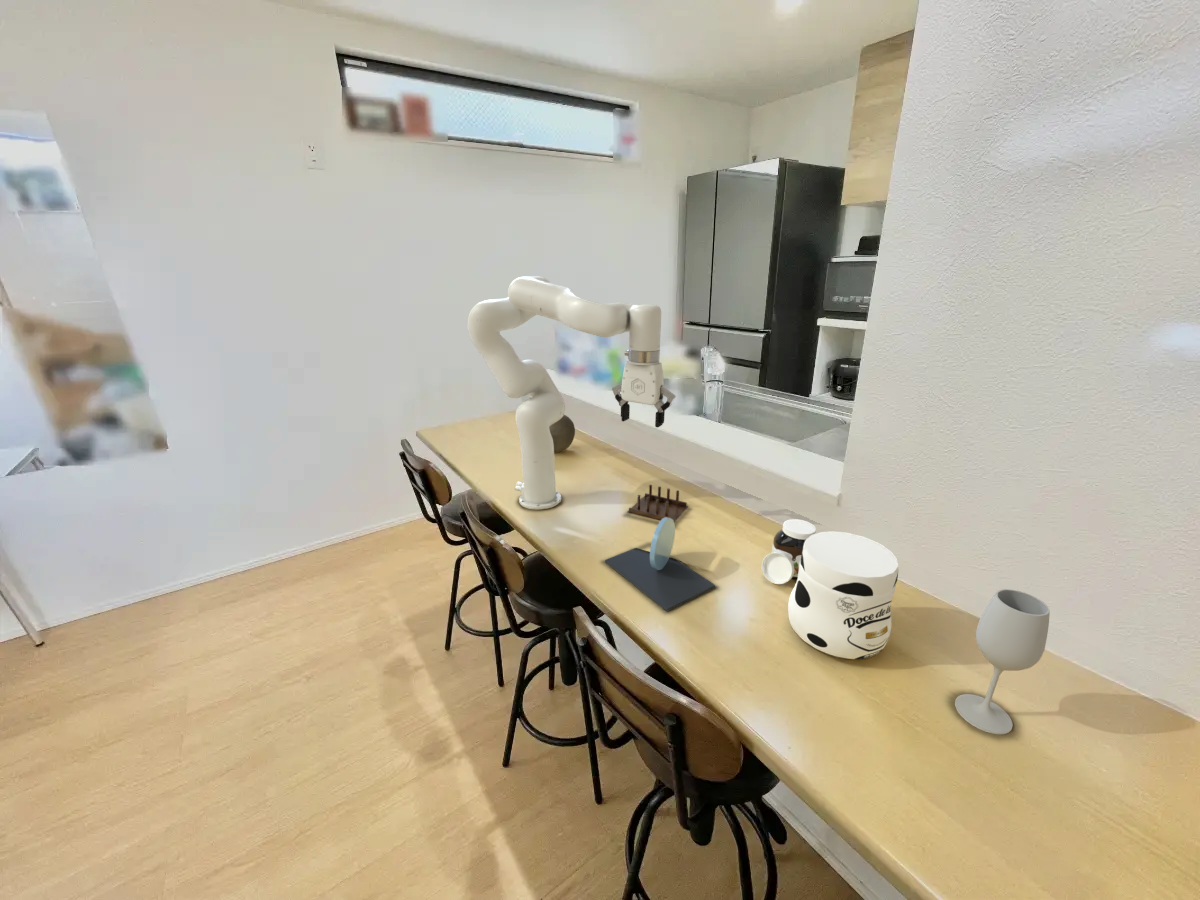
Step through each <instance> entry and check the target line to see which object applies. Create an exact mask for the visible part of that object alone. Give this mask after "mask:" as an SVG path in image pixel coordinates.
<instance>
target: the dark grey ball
mask: <svg viewBox="0 0 1200 900" xmlns="http://www.w3.org/2000/svg"><path fill="white" fill-rule="evenodd" d="M549 430H550V433H551V436H552V439H553V444H554V453H560V452H562V451H565V450H566V449H568V448H569V447H570V446H571V445H572V443H573V442H574V439H575V435H576V427H575V424H574V422H573V420H572V419H571V418H570V417H569V416H568V415H566V414H564V415H563V417H562V418H561V419H560V420H558V421H557V422H555V423H554V424H552V425H551V426H549Z"/></svg>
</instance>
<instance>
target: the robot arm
mask: <svg viewBox="0 0 1200 900" xmlns="http://www.w3.org/2000/svg"><path fill="white" fill-rule="evenodd" d="M535 316H540V317H544V318H547V319H551V320H554V321H558V322H560V323H562V324H563V325H565V326H567V327H569V328H572V329H573V330H576V331H578V332H582V333H586V334H589V335H592V336H596V337H600V338H611V337H615V336H617V335H620V334H625V333H629V337H628V349H625V351H624V352H623V353H624V354H623V355H624V356H627V359H628V360H626V361H625V362H624V367H623V373H622V378H621V383H619V384H618V385H616V386H612V388H611V390H612V393H613V395H614V399H615V400H616V401H617V403H618V405H619V407H620V418H621V422H626V421H628V420H630V412H631V411H630V409H631V408H630V407H631V406H630V403H636V404H642V405H648V406H649V405H650V406H654V408H655V409H656V410H657V411H656V412H655V421H654V427H655V428H660V427H662V426H663V424H664V423H665V415H666V414H665V413H666V412H665V411H666V410H667V409H669V408H670V407H671V406H672V404H673V403H674V401H675V399H676V397H677V396H676V395H675V394H674V393H673V392H671V391H670V390H668V389H667V388H666V387H665V385H664V383H665V382H664V370H663V364H662V362H660V355H661V354H660V352H661V349H660V348H661V331H662V330H661V329H662V328H661V327H662V309H661V307H660V306H659V305H657V304H651V303H642V304H633V303H629V302H623V301H620V302H619V301H617V302H611V303H600V302H596V301H593V300H589V299H585V298H582V297H579V296H577V295H576V294H574V291H573V290H572V289H571V288H570V287H567V286H565V285H564V286H563V285H560V284H556V283H551V282H550V281H549V279H547V278H545V277H544V276H540V275H530V276H529V275H528V276H520V277H517V278H515V279H514V280H512V281H511V282H510V284H509V286H508V288H507V297H505V298H504V297H503V298H494V299H493V298H492V299H486V300H483V301H479V302H478V303H476V304H475V305H474V306H473V307H472V308H471V310H470V311H469V313H468V317H467V321H466V323H467V333H468V337H469V338H470V341H471V343H472V344H473V346H474V348H476V350H477V351H478V353H479V355H480V356H481V357H482V359H483V360H484V361H485V363H486V365H487V367H488V369H489V370H490V372H491V374H492V375H493V377H494V378H495V380H496V381H497V384H498V385H499V387H500V388H501V390H502V391H503V393H504V394H505V395H506V397H508V398H511V399H520V398H523V397H525V396H528V397H529V398H528V399H526V400H524V401H522V402H521V403H520V404H519V405H518V407H517V409H516V410H515V414H514V415H515V416H514V417H515V419H514V420H515V424H516V428H517V433H518V437H519V447H520V457H521V470H522V472H521V473H522V481H519V480H518V481H517V482H516V483H515V486H514V491H517V492H520V496H519V498H518V502H519V504H520V505H521V506H522V507H524V508H525V509H529V510H536V511H538V510H547V509H551V508H554V507H556V506H558V505H559V504H560V503H561V502H562V494H561V493H560V492H559V491H557V488H556V487H557V486H556V485H557V484H556V467H555V465H556V464H555V463H556V462H555V452H554V444H553V439H552V436H551V433H550V430H549V426H551V425H552V424H554V423H555V422H557V421H558V420H560V419H561V418H562V417H563V415H565V412H566V403H565V401H564V398H563V396H562V394H561V392H560V391H559V389H558V387H557V385H556V384H555V382H554V381H553V379H552V377H551V376H550V374H549V372H548V371H547V369H546V367H545V366H544V365H542V364H541V362H539V361H537V360H535V359H524V360H521V358H520V357H519V356H518V354H517V352H516V351H515V349H514V348H513V345H512V344H510V342H509V341H508V340H507V339H506V338H504V337H503V336H502V335H501V333H500V332H502V331H507V330H513V329H516V328H518V327H520V326H522V325H524V324H525V323H526V322H528V321H529V320H531V319H533V318H534V317H535ZM664 397H665V398H667V400H666V401H665V402H664V400H663V399H664Z"/></svg>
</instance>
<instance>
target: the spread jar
mask: <svg viewBox="0 0 1200 900" xmlns="http://www.w3.org/2000/svg"><path fill="white" fill-rule="evenodd" d="M782 523H783V524H782V529H780V530H778V531H777V532H776V534H775V535H774V537H773V540H772V546H771V552H770V553H768V554H766V555H765V556H764V557H763V559H762V561H761V571H762V574H763V576H764V577H765V579H766V580H768V581H769V582H770V583H772V584H775V585H783V584H786V583H788V582H789V581H791V580H793V581H794V580H795V581H797V579H798V572H799V563H800V560H801V555H802V549H803V546H804V543H805V540H806V539H807V538H809V537H810V536H811V535H813V534H817V533H816V532H817V528H816V526H815V525H814V524H813V523H812V522H809V521H807V520H803V519H800V518H790V519H787V520H785V521H784V522H782Z"/></svg>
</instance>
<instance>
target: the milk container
mask: <svg viewBox="0 0 1200 900" xmlns="http://www.w3.org/2000/svg"><path fill="white" fill-rule="evenodd" d="M898 577H899V561H898V558H897V556H895V554H894V553H893V552H892V551H891V549H889V548H887V547H886V546H884V545H883V544H881V543H880V542H877V541H876V540H873V539H871V538H869V537H866V536H863V535H859V534H855V533H852V532H851V533H850V532H844V531H835V530H834V531H832V530H831V531H820V532H817V533H815V534H813V535H811V536H810V537H809V538H807V539H806V540H805V543H804V546H803V549H802V555H801V560H800V563H799V572H798V579H797V580H796V581H795V582H796V583H795V585H794V586H793V588H792V590H791V592H790V594H789V598H788V602H787V610H788V611H787V613H788V621H789V624H790V626H791V628H792V630H793V631H794V633H795V634H796V635H797V636H798V638H799V639H801V641H802V642H804V643H805V644H807V645H808V646H809V647H811V648H813V649H814V650H816V651H818V652H820V653H822V654H825V655H828V656H830V657H833V658H838V659H841V660H842V659H843V660H850V661H857V660H858V661H859V660H867V659H870V658H872V657H874V656H876V655H878V654H880V653H881V652H882V651H883V649H884V648H885V646H886V645H887V643H888V641H889V640H890V636H891V633H892V627H893V621H892V612H891V607H892V602H893V599H894V596H895V595H894V594H895V591H896V587H897V586H896V584H897V582H898Z"/></svg>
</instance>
